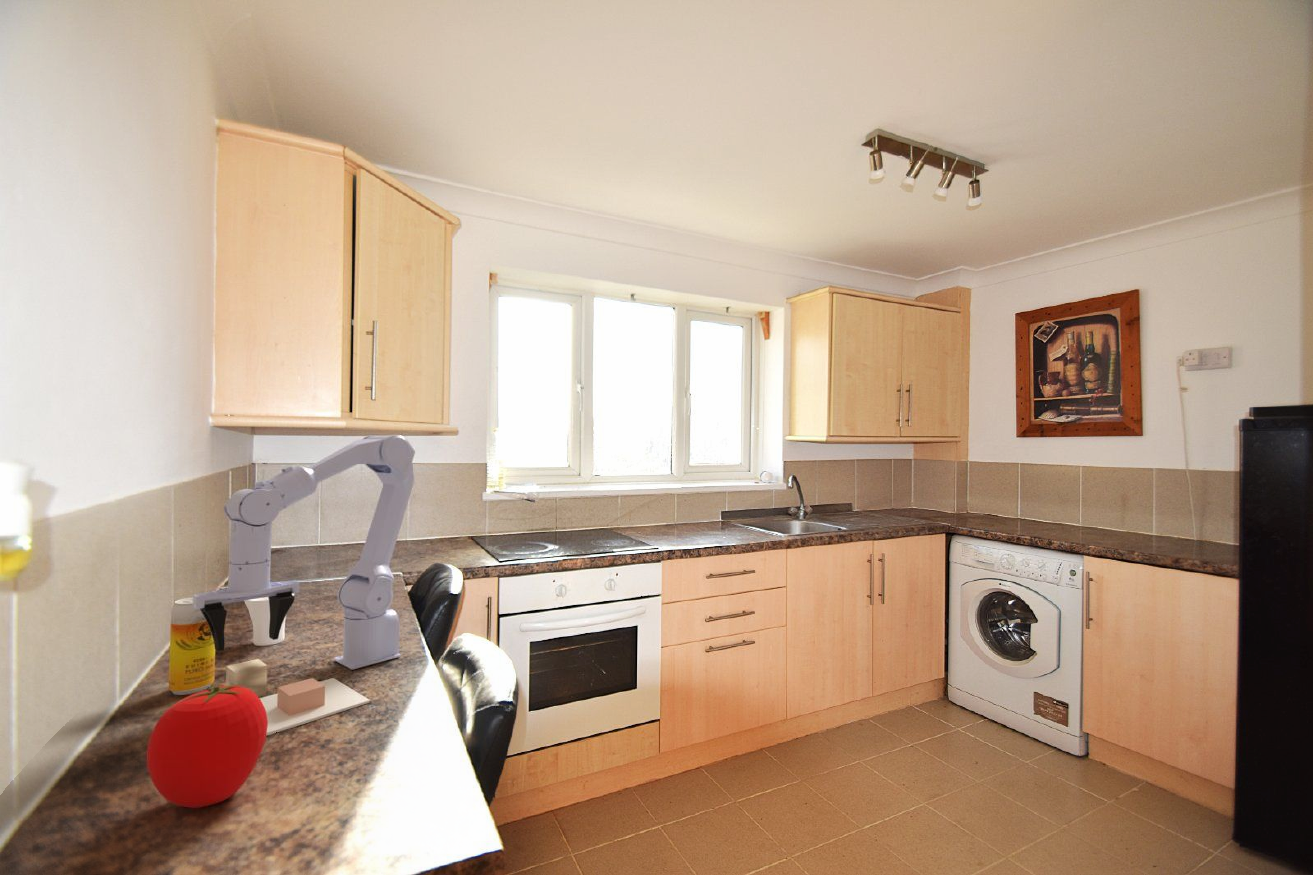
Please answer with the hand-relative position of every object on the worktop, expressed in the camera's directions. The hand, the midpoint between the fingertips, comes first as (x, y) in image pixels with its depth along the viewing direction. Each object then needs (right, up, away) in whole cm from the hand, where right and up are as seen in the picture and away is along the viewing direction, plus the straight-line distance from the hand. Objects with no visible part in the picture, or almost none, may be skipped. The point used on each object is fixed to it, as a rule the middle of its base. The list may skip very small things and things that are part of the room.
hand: (247, 643), depth 96 cm
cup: (-14, -9, +27) cm, 32 cm away
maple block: (0, -9, 0) cm, 9 cm away
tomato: (+16, -8, -28) cm, 33 cm away
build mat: (+11, -9, -4) cm, 14 cm away
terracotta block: (+12, -8, -5) cm, 15 cm away
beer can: (-11, -9, +2) cm, 14 cm away
